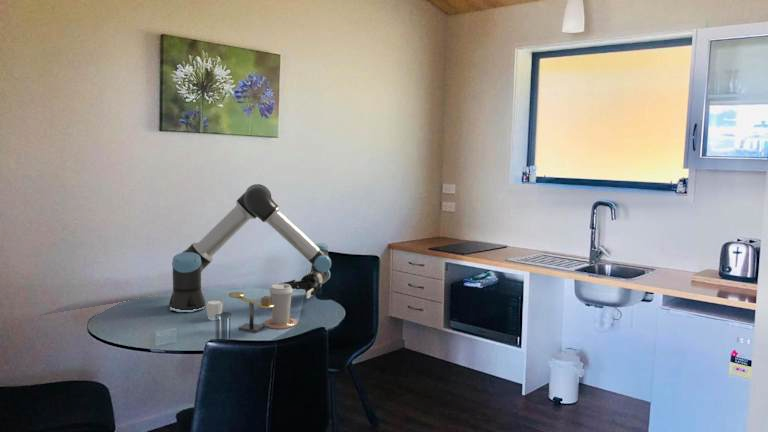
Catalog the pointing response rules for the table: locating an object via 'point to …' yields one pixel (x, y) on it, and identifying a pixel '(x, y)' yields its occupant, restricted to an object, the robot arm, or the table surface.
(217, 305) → the shot glass
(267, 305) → the balance
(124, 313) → the table surface
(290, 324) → the dish
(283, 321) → the coffee cup
